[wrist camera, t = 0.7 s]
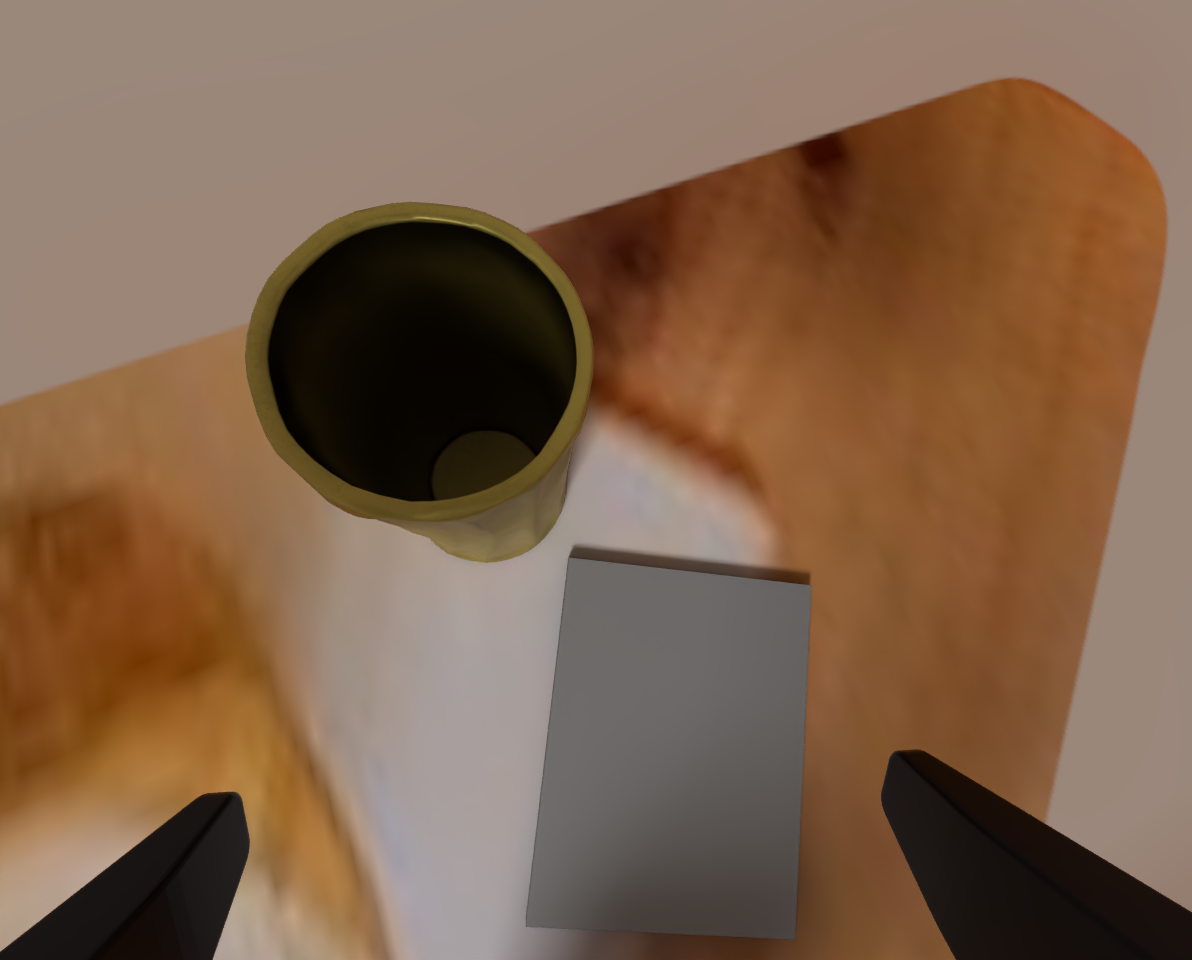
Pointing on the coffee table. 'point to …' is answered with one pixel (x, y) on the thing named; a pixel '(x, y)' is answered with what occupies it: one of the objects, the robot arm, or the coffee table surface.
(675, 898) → the mat
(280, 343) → the vase
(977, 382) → the coffee table surface
